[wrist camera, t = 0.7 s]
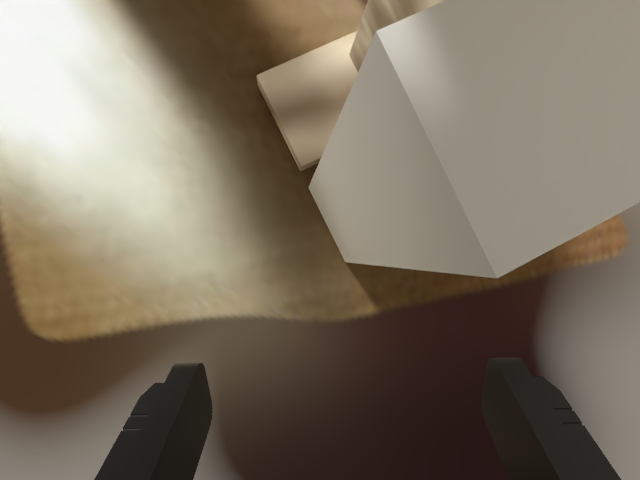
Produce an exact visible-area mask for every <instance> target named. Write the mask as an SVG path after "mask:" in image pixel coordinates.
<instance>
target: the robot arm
mask: <svg viewBox="0 0 640 480" xmlns="http://www.w3.org/2000/svg"><path fill="white" fill-rule="evenodd" d="M482 411H483V416H484V420H485V423H486V425H487V427H488V430H489V432H490V435H491V437H492V439H493V441H494V444H495V446H496V449H497V451H498V453H499V456H500V458H501V460H502V463H503V465H504V468H505V470H506V472H507V475H508V477H509V479H510V480H621V479H620V477H619V476H618V475H617V473H616V472H615V470H614V469H613V467H612V466H611V464H610V463H609V461H608V460H607V458H606V457H605V456H604V454H603V453H602V451H601V450H600V448H599V447H598V445H597V444H596V442H595V441H594V440H593V438H592V437H591V435H590V434H589V432H588V431H587V429H586V428H585V426H582V423H581V421H580V419H579V418H578V416H577V415H576V413H575V412H574V411H572V408H571V406H570V405H569V403H568V402H567V400H566V399H565V397H564V396H563V394H562V393H561V391H560V390H558V389H557V388H556V387H555V386H553V385H552V384H551V383H550V382H548V381H547V380H546V379H545V378H543V377H532V375H531V373H530V372H529V370H528V369H527V367H526V365H525V364H524V362H523V361H522V360H521V359H520V358H518V357H511V358H490V359H489V361H488V364H487V371H486V377H485V383H484V389H483V395H482ZM211 420H212V401H211V396H210V391H209V386H208V381H207V376H206V372H205V367H204V365H203V364H202V363H184V364H183V363H181V364H175V365H174V366H173V367H172V369H171V371H170V373H169V375H168V377H167V379H166V381H165V383H155V384H153V385H152V386H151V387H150V388H149V389H148V390H147V391H146V392H145V393H144V394H143V395H142V396H141V397H140V398H139V400H138V402H137V404H136V405H135V407H134V409H133V411H132V413H131V416H130V417H129V418H128V420H127V421H126V423H125V425H124V427H123V431H121V432H120V434H119V436H118V438H117V440H116V442H115V443H114V445H113V447H112V449H111V450H110V452H109V454H108V456H107V458H106V460H105V461H104V463H103V465H102V467H101V469H100V471H99V472H98V474H97V476H96V478H95V479H94V480H193V478H194V475H195V472H196V469H197V466H198V463H199V459H200V456H201V453H202V450H203V447H204V444H205V441H206V438H207V434H208V431H209V428H210V425H211Z"/></svg>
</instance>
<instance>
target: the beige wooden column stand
mask: <svg viewBox="0 0 640 480" xmlns="http://www.w3.org/2000/svg"><path fill="white" fill-rule="evenodd" d="M443 1H445V0H368V2H367V5H366V8H365V11H364V13H363V16H362V19H361V22H360V25H359V28H358V31H356V32H353V33H351V34H349V35H347V36H344V37H342V38H340V39H337V40H335V41H333V42H331V43H328V44H326V45H324V46H321V47H319V48H317V49H315V50H312V51H310V52H308V53H306V54H303V55H301V56H299V57H296V58H294V59H292V60H290V61H287V62H285V63H283V64H281V65H278V66H276V67H274V68H271V69H269V70H267V71H265V72H262V73H260V74H258V75H257V83H258V87H259V89H260V91H261V93H262V95H263V97H264V99H265V101H266V103H267V105H268V107H269V109H270V111H271V113H272V115H273V117H274V119H275V121H276V123H277V125H278V127H279V129H280V131H281V133H282V135H283V138H284V140H285V142H286V144H287V146H288V148H289V150H290V152H291V154H292V156H293V158H294V160H295V162H296V164H297V166H298V168H299V170H300V171H302V170H304V169H307V168H309V167H311V166H313V165H315V164H317V163H319V162H320V159H321V157H322V155H323V152H324V150H325V148H326V145H327V143H328V141H329V138H330V136H331V134H332V132H333V129H334V127H335V125H336V122H337V120H338V118H339V115H340V113H341V111H342V108H343V106H344V104H345V102H346V99H347V97H348V95H349V92H350V90H351V88H352V85H353V83H354V81H355V79H356V76H357V74H358V72H359V69H360V67H361V65H362V62H363V60H364V58H365V55H366V53H367V51H368V49H369V46H370V44H371V42H372V39H373V37H374V35H375V32H376V31H377V30H380V29H382V28H384V27H386V26H389V25H391V24H393V23H395V22H398V21H400V20H402V19H404V18H407V17H409V16H411V15H414V14H416V13H418V12H420V11H423V10H425V9H427V8H429V7H432V6H434V5H436V4H438V3H441V2H443Z"/></svg>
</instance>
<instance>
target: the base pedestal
mask: <svg viewBox="0 0 640 480" xmlns="http://www.w3.org/2000/svg"><path fill="white" fill-rule="evenodd" d="M308 188H309V190H310V192H311V194H312V196H313V198H314V200H315V202H316V204H317V206H318V208H319V210H320V212H321V214H322V216H323V218H324V220H325V222H326V224H327V227H328V229H329V231H330V233H331V235H332V237H333V239H334V241H335V243H336V245H337V247H338V249H339V251H340V253H341V255H342V257H343V259H344V261H345V262H348V263H357V264H367V265H376V266H385V267H395V268H404V269H413V270H423V271H432V272H441V273H451V274H460V275H469V276H479V277H488V278H499V277H501V276H503V275H505V274H507V273H508V272H510V271H512V270H514V269H516V268H518V267H520V266H522V265H523V264H525V263H527V262H529V261H531V260H533V259H535V258H536V257H538V256H540V255H542V254H544V253H546V252H548V251H550V250H551V249H553V248H555V247H557V246H559V245H561V244H563V243H564V242H566V241H568V240H570V239H572V238H574V237H576V236H578V235H579V234H581V233H583V232H585V231H587V230H589V229H591V228H593V227H594V226H596V225H598V224H600V223H602V222H604V221H606V220H607V219H609V218H611V217H613V216H615V215H617V214H619V213H621V212H622V211H624V210H626V209H628V208H630V207H632V206H634V205H635V204H637V203H639V202H640V0H445V1H443V2H441V3H438V4H436V5H434V6H432V7H429V8H427V9H425V10H423V11H420V12H418V13H416V14H414V15H411V16H409V17H407V18H404V19H402V20H400V21H398V22H395V23H393V24H391V25H389V26H386V27H384V28H382V29H380V30H377V31H376V32H375V35H374V37H373V39H372V42H371V44H370V46H369V49H368V51H367V53H366V55H365V58H364V60H363V62H362V65H361V67H360V69H359V72H358V74H357V76H356V79H355V81H354V83H353V85H352V88H351V90H350V92H349V95H348V97H347V99H346V102H345V104H344V106H343V108H342V111H341V113H340V115H339V118H338V120H337V122H336V125H335V127H334V129H333V132H332V134H331V136H330V138H329V141H328V143H327V145H326V148H325V150H324V152H323V155H322V157H321V159H320V162H319V164H318V166H317V168H316V171H315V173H314V175H313V178H312V180H311V182H310V185H309V187H308Z"/></svg>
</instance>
